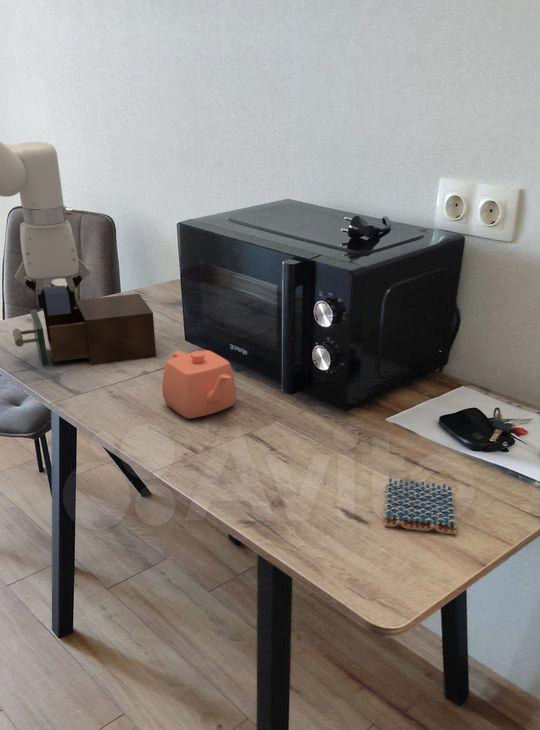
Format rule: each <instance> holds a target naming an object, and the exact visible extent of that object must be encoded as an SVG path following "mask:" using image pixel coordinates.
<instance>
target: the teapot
mask: <svg viewBox="0 0 540 730" xmlns="http://www.w3.org/2000/svg"><path fill="white" fill-rule="evenodd" d="M161 387H162V389H161V390H162V392H161V393H162V397H163V399H164V401H165V403H166V405H167V406H168V407H170V408H171V409H172V410H174V411H175V412H176V413H177V414H179V415H181V416H182V417H184V418H186V419H196V418H199V417H204V416H208V415H212V414H215V413H218V412H220V411H223V410H226V409H229V408H230V407H232V406H233V405H234V404H235V401H236V398H237V387H236V381H235V376H234V372H233V368H232V366H231V362H229V361H228V360H227V359H225V358H224V357H222V356H221V355H219V354H217V353H215V352H214V351H212V350H209V349H203V350H196V351H192V352H189V353H184V352H183V351H181V350H176V351H174V352H173V353H172V358H170V359H168V360H166V361H165V366H164V370H163V375H162V386H161Z"/></svg>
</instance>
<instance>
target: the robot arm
mask: <svg viewBox="0 0 540 730" xmlns="http://www.w3.org/2000/svg"><path fill="white" fill-rule="evenodd" d="M59 166H60V165H59V159H58V153H57V149H56V148H55V147H54V145H52V144H51V143H48V142H40V141H31V142H30V141H29V142H21V143H18V144H11V143H3V142H1V141H0V197H3V198H5V197H7V198H8V197H13V196H16V195H17V194H19V198H20V205H21V210H22V216H23V222H20V224H19V225H20V226H19V234H20V235H19V238H20V247H21V248H20V249H21V258H22V261H21V263H20V265H19V267H18V269H17V270H16V272H15V274H14V279H15V280H16V281H17V282H19V283H20V284H23V285H24V286H26V287H28V288H29V289H30V290H32V291H33V292H34V293H35V294H36V298H37V304H38V309H39V310H42V313H43V315H44V314H47V313H48V312H47V305H46V299H45V294H44V291H43V286H44V285H43V283H44V279H45V280H46V279H57V278H64V279H65V280H66V282H67V286H66V289H67V291H68V295H69V303H70V310H71V311H74V310H73V306H74V305H76V301H75V293H74V291H75V289H76V287H77V288H78V286H79V285H80V284H81V283H82V282H83V280H84V279H85V278H87V277H88V276H89V275H90V274H91V270H90V269H89V267H87V266H86V265H85V263H84V262H83V261H82V260H81V259H80V258H79V256H78V251H77V246H76V240H75V237H74V234H73V229H72V226H71V223H70V220H68V219H67V218H68V217H69V216H74V212H73V207H68V206H65V204H64V198H63V188H62V182H61V173H60V167H59ZM25 275H26V276H25Z"/></svg>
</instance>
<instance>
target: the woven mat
mask: <svg viewBox="0 0 540 730" xmlns="http://www.w3.org/2000/svg"><path fill="white" fill-rule="evenodd" d="M403 480H404V479H400V480H399V483H398V481H397V480H394V483H393V482H392V481H393V478H389V479H388V482H387V483H386V484H385V485H384V489H385V493H384V494H383V496H384V498H385V499H384V503H383V504H382V510H383V511H384V513H383V515H382V519H383V520H384V524H383V525H384V526H383V527H389V528H390V527H391V528H395V527H396V526H397V527H402V528H403V529H406V530H410V531H411V530H412V531H420V532H429V531H434V532H436V531H437V532H438V533H441V534H447V535H455V536H456V535H457V531H458V530H457V529H455V528H457V527H458V522H459V521H457V519H456V518H457V515H456V514H457V511H456V501H455V498H454V496H455V493H454V490H453V489H452V487H451V486H448V487H447V488H446V486H447V485H446V483H444V484H442V488H441V485H437V486H436V483H435V482H432V483H431V486H430V484H429V483H426V485H425V481H421V484H420V486H419V483H418V482H416V483H415V485H414V480H410V484H409V482H408V481H405V482H404V481H403ZM403 482H404V484H403Z"/></svg>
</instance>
